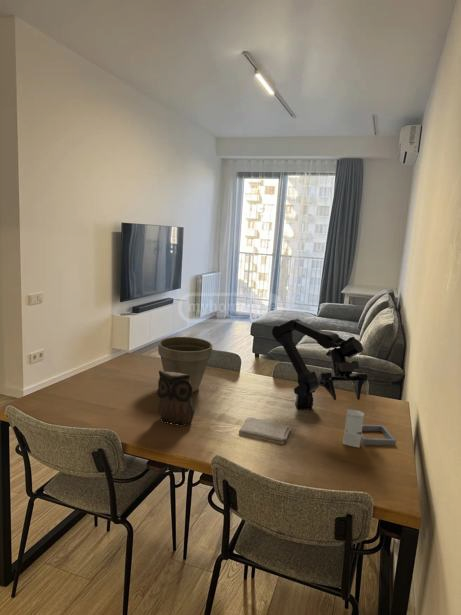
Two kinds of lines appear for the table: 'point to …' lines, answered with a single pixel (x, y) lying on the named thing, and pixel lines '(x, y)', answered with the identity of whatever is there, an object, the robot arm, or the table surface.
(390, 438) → the socket
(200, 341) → the plant pot
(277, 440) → the washcloth
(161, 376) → the owl
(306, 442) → the table surface
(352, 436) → the skincare box
